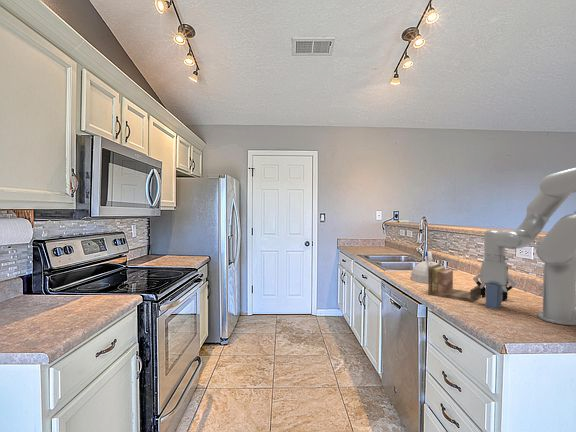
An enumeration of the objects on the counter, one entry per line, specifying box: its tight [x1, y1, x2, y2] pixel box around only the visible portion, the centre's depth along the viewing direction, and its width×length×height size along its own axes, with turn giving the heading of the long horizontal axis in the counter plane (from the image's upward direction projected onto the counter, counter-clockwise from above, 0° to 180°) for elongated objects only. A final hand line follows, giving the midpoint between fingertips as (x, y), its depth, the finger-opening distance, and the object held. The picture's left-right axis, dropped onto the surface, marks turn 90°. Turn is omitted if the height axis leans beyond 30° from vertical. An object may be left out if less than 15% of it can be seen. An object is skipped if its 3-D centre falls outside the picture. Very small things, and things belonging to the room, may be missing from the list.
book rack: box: [427, 263, 482, 303], centre depth 158 cm, size 20×14×14 cm
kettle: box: [410, 250, 438, 285], centre depth 193 cm, size 20×21×18 cm
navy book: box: [485, 284, 502, 310], centre depth 141 cm, size 4×10×10 cm, turn 137°
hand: (493, 298), depth 141 cm, fingers open, 7 cm apart
